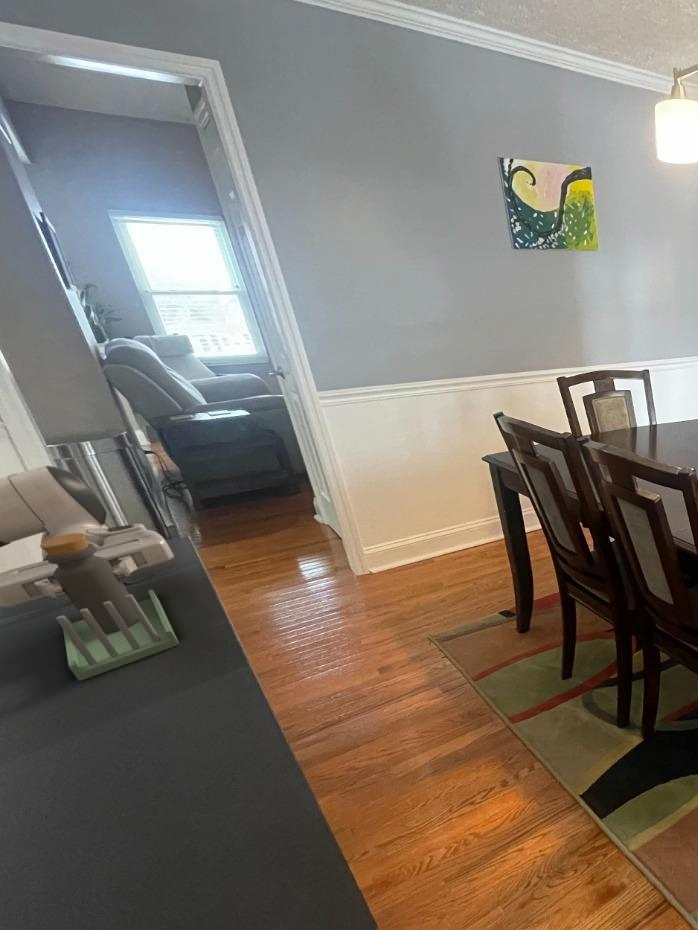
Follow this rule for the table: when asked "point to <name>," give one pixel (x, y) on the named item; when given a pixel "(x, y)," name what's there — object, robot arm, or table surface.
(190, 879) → the table surface
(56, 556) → the bottle
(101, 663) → the drying rack
